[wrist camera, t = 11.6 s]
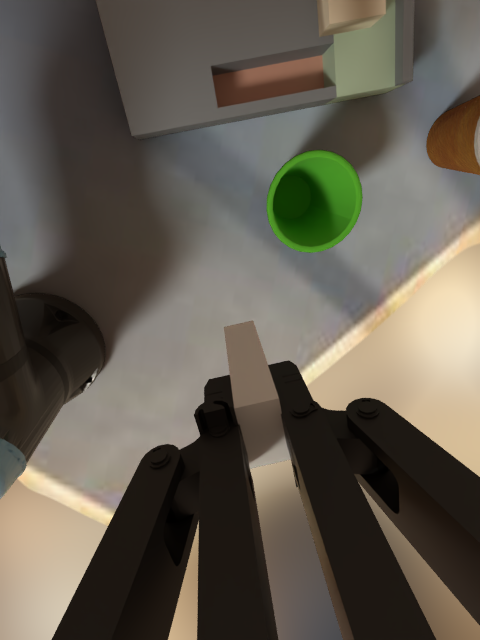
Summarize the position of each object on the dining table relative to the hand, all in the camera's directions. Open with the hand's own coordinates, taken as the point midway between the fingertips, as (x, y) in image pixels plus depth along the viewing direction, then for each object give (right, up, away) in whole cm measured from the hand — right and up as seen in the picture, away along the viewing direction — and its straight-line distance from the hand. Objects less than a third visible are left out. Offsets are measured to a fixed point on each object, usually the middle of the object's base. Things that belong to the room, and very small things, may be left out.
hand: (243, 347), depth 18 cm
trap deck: (+1, +31, +18) cm, 36 cm away
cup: (+6, +16, +24) cm, 30 cm away
